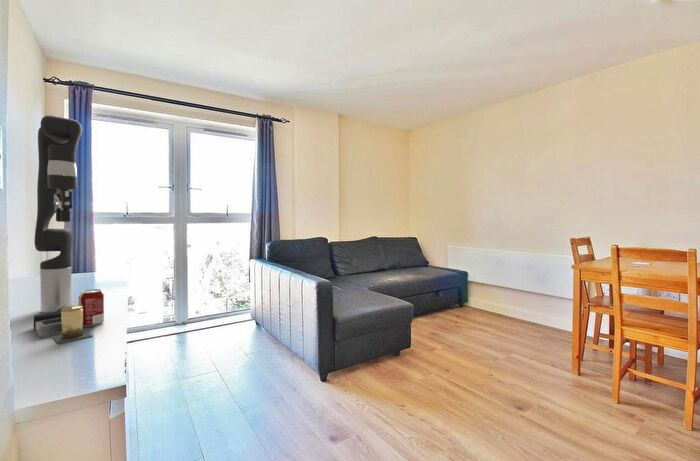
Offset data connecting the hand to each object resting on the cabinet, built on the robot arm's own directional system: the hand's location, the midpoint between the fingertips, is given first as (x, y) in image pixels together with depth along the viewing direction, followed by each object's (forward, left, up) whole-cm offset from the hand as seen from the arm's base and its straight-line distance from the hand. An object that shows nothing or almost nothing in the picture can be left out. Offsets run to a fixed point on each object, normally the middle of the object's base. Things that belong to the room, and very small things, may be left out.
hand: (62, 221), depth 110 cm
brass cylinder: (+19, -1, -36) cm, 40 cm away
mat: (+19, -1, -36) cm, 41 cm away
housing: (+8, -4, -36) cm, 37 cm away
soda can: (+8, +6, -36) cm, 38 cm away
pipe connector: (-2, +1, -37) cm, 37 cm away
